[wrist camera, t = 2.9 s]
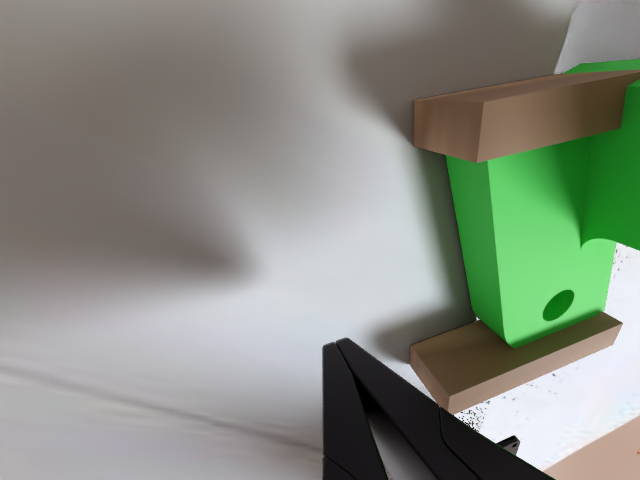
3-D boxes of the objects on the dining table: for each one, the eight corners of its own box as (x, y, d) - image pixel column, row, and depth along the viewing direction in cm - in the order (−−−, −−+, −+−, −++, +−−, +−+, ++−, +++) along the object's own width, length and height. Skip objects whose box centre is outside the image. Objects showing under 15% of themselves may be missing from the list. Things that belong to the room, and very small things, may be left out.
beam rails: (556, 308, 18) (613, 344, 15) (410, 365, 16) (447, 417, 13) (634, 60, 12) (750, 50, 9) (414, 99, 10) (483, 102, 7)
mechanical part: (442, 137, 11) (862, 220, 4) (580, 63, 11) (1186, 16, 4) (477, 341, 17) (659, 513, 10) (565, 288, 17) (798, 419, 10)
